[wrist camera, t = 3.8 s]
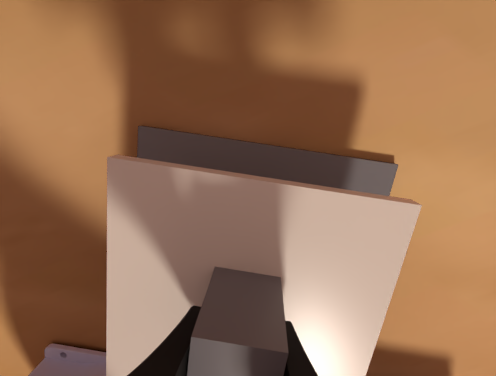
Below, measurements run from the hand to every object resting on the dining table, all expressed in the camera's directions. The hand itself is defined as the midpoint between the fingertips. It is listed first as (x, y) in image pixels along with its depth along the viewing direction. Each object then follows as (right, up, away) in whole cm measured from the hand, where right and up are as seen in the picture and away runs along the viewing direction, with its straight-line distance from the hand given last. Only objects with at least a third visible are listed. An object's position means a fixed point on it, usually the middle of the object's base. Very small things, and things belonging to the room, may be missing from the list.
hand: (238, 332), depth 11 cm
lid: (0, +1, +2) cm, 2 cm away
